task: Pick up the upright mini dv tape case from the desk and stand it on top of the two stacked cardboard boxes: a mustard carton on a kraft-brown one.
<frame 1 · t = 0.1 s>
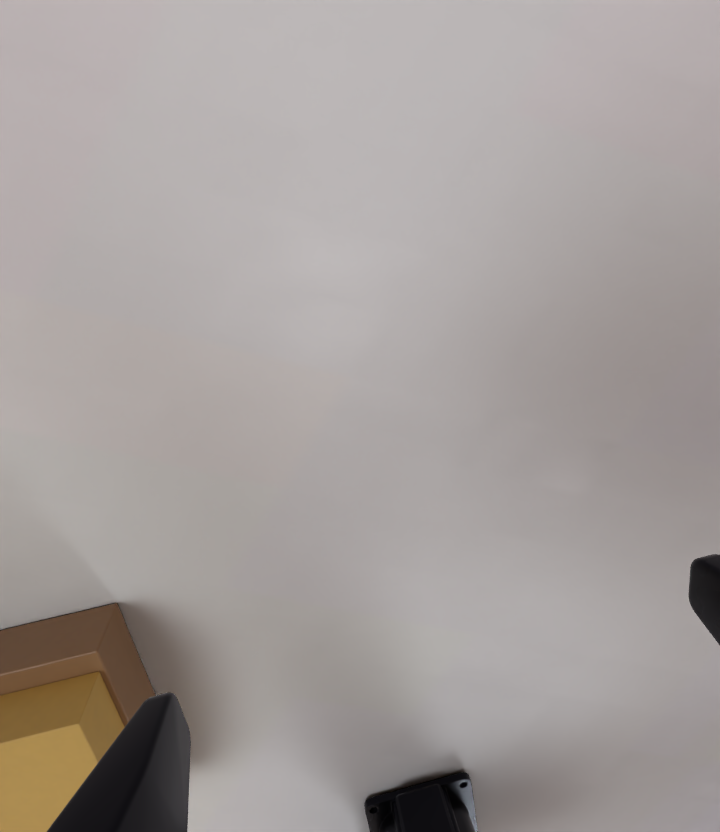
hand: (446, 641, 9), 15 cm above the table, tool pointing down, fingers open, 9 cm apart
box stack: (50, 715, 26), on the table
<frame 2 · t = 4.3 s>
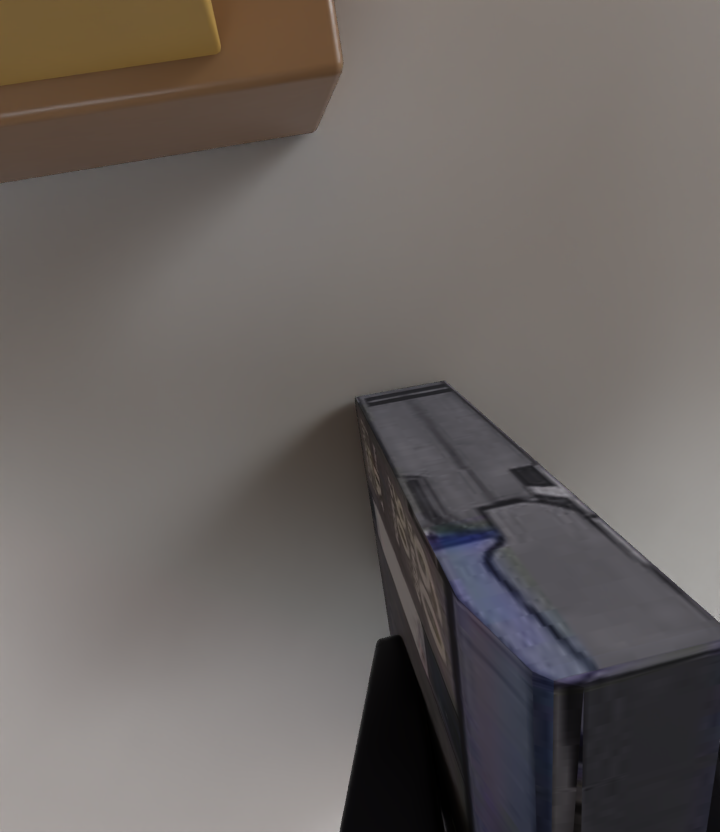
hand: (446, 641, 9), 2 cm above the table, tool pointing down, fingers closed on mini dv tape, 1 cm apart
mini dv tape: (419, 578, 10), on the table, touching gripper
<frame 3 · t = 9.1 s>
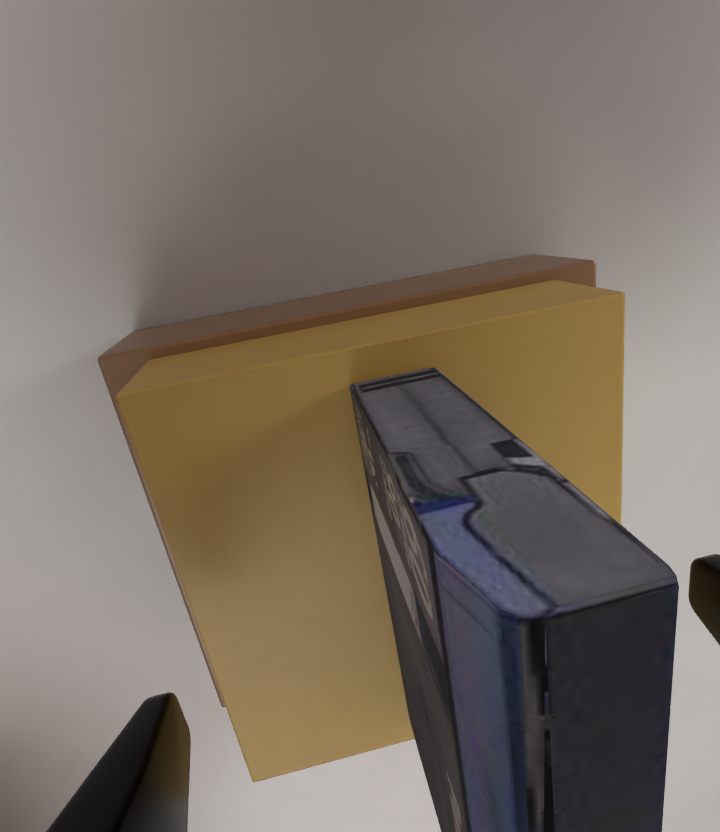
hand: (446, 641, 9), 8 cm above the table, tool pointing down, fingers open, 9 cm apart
mini dv tape: (416, 559, 11), point 5 cm above the table, touching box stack
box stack: (369, 457, 16), on the table
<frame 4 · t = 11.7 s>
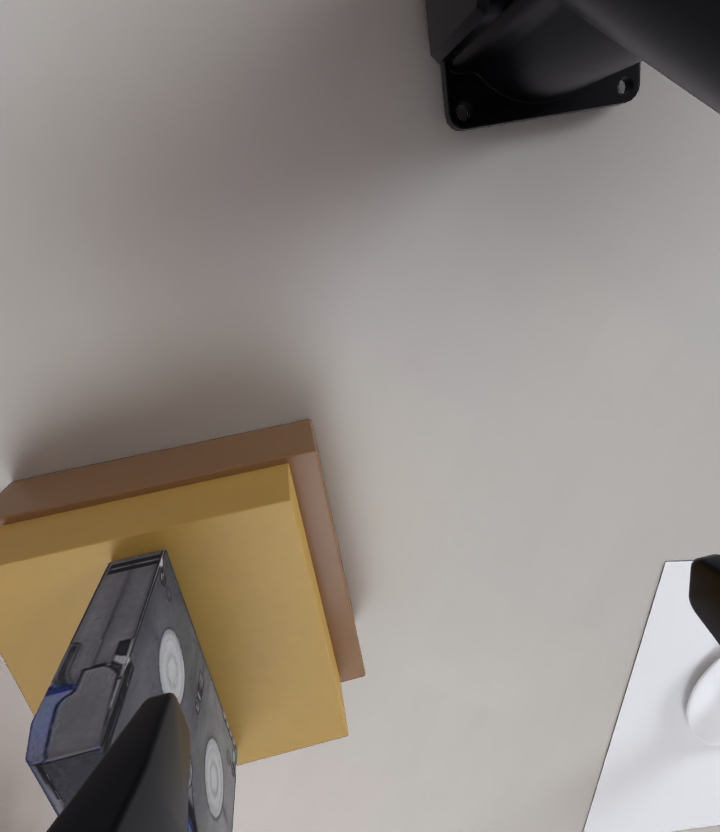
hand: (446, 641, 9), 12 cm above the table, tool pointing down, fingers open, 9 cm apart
mini dv tape: (181, 659, 16), point 5 cm above the table, touching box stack
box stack: (201, 560, 21), on the table
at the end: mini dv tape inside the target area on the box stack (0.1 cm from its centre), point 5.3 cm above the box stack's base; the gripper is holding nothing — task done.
